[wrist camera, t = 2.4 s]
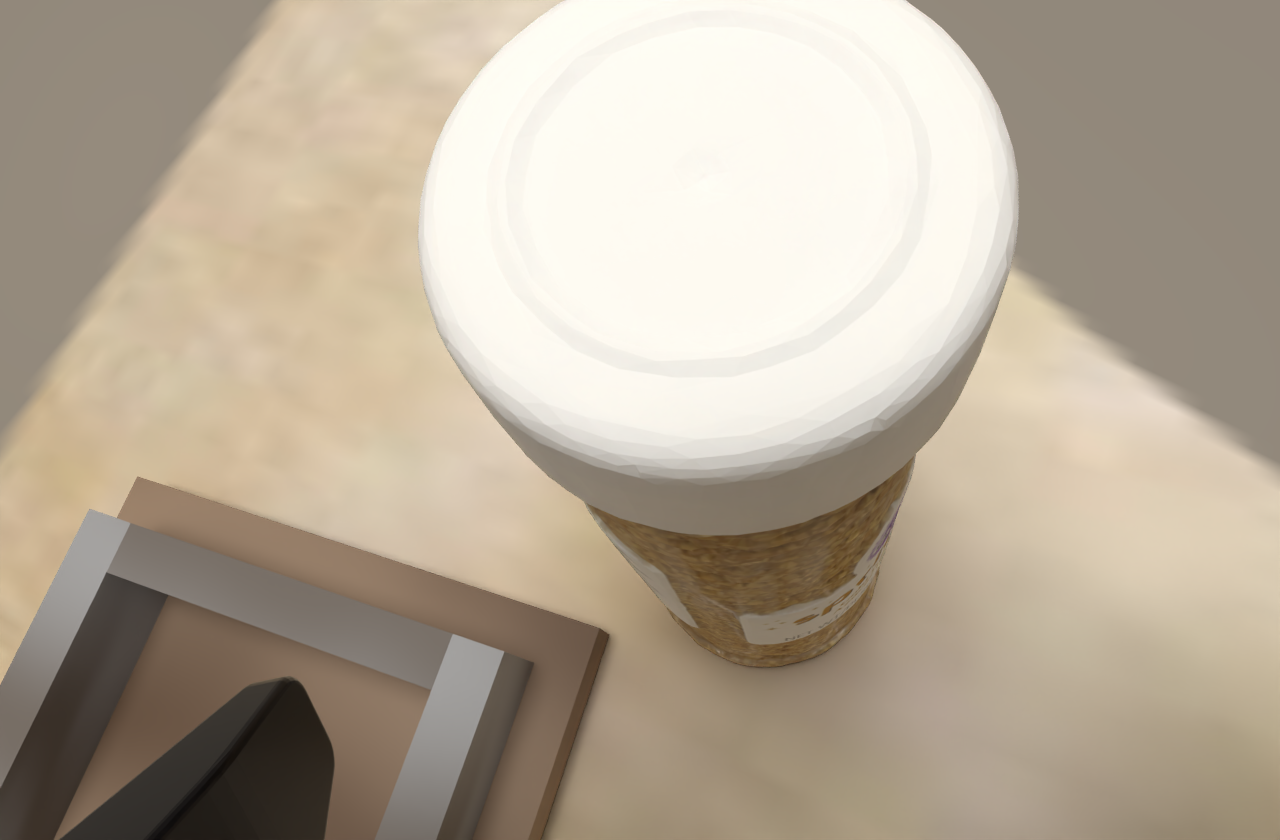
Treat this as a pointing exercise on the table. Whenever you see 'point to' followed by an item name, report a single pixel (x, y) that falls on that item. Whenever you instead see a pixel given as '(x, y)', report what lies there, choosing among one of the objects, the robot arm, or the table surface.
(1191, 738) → the table surface
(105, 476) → the table surface
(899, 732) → the table surface
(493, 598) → the socket board
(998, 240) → the sprinkles bottle
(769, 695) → the table surface
